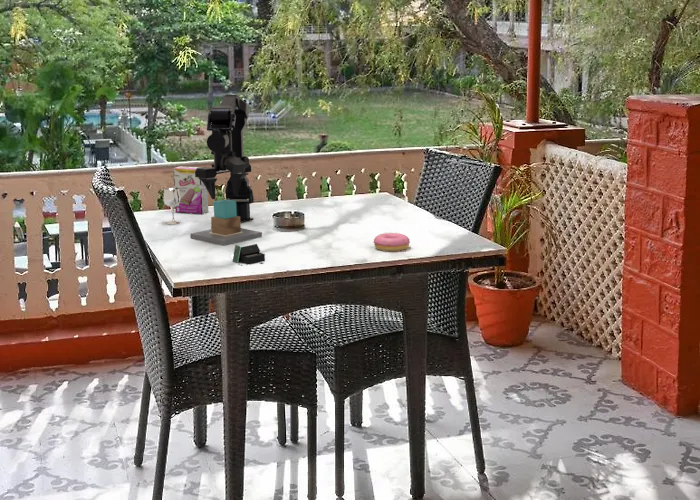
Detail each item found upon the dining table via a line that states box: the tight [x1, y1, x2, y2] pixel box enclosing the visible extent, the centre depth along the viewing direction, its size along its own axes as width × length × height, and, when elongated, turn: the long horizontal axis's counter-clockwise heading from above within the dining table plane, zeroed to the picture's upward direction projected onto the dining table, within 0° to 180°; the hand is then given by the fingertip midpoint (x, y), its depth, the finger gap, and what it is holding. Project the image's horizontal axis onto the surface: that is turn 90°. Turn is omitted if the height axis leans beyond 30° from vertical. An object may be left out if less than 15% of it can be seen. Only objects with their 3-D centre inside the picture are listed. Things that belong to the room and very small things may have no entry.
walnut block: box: [210, 216, 242, 235], centre depth 303 cm, size 6×6×5 cm
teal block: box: [213, 198, 237, 219], centre depth 302 cm, size 5×5×5 cm
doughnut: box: [373, 232, 411, 252], centre depth 287 cm, size 11×11×4 cm
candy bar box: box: [172, 165, 209, 215], centre depth 342 cm, size 11×5×16 cm, turn 71°
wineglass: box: [163, 187, 181, 225], centre depth 325 cm, size 6×6×12 cm
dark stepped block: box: [231, 243, 266, 267], centre depth 273 cm, size 15×15×6 cm
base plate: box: [189, 227, 263, 247], centre depth 303 cm, size 16×16×2 cm
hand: (224, 197), depth 301 cm, fingers open, 9 cm apart
